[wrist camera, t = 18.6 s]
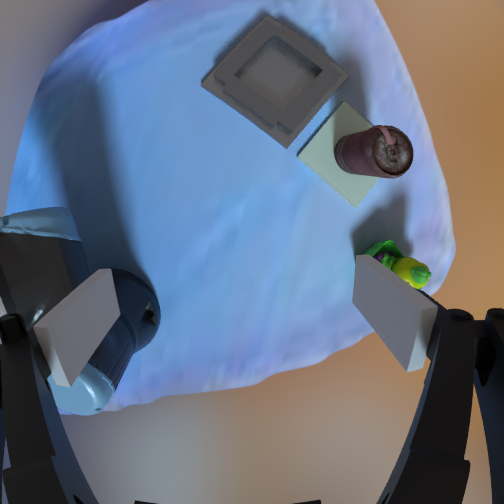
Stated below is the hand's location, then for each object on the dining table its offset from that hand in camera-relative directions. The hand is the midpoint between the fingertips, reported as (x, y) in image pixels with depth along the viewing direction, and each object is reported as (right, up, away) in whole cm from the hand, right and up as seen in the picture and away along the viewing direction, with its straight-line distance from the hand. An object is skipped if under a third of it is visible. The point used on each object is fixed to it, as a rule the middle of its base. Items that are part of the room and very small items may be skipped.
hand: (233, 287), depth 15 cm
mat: (+16, +17, +27) cm, 36 cm away
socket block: (+5, +28, +24) cm, 37 cm away
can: (+16, +17, +27) cm, 36 cm away
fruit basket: (+23, -1, +33) cm, 40 cm away
